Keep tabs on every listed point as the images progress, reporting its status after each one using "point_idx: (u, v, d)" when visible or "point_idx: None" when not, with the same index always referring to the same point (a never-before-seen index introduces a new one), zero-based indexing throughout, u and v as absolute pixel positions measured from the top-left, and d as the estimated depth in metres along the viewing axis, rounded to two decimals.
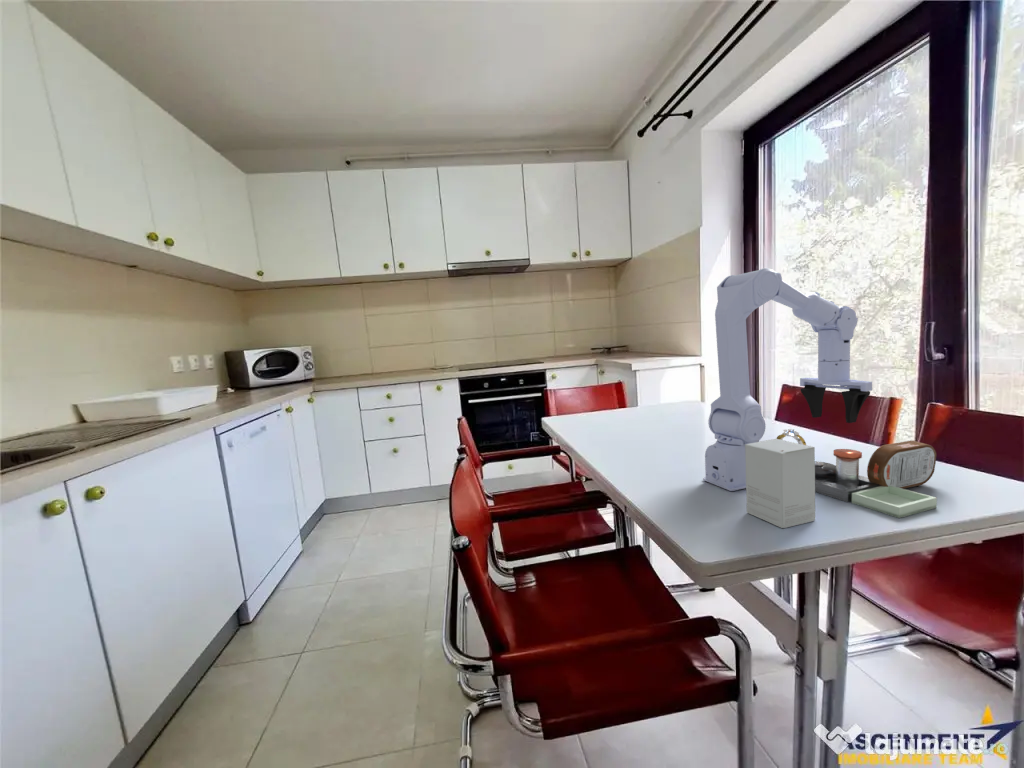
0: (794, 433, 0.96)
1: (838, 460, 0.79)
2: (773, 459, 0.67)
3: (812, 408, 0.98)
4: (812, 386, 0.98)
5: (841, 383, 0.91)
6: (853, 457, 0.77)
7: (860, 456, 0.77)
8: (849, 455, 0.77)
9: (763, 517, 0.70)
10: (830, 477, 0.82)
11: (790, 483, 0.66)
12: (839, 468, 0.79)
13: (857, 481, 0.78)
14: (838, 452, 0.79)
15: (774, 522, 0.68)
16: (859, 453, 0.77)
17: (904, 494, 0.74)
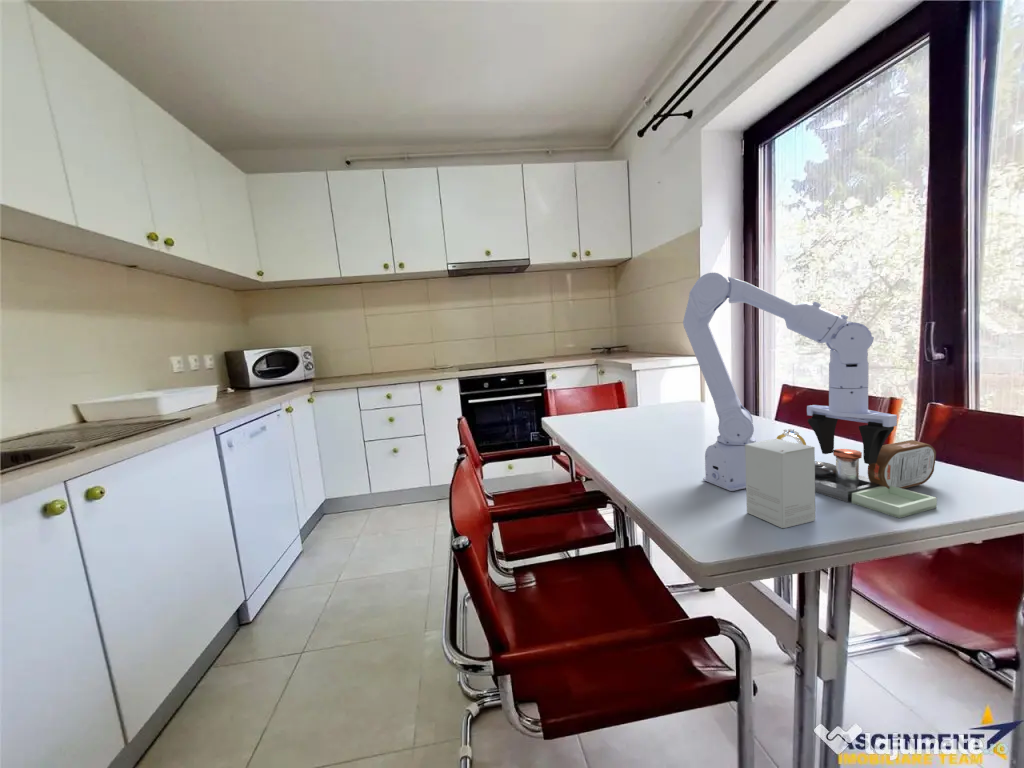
0: (794, 433, 0.96)
1: (838, 460, 0.79)
2: (773, 459, 0.67)
3: (822, 442, 0.82)
4: (822, 416, 0.82)
5: (858, 415, 0.74)
6: (853, 457, 0.77)
7: (860, 456, 0.77)
8: (849, 455, 0.77)
9: (763, 517, 0.70)
10: (830, 477, 0.82)
11: (790, 483, 0.66)
12: (839, 468, 0.79)
13: (857, 481, 0.78)
14: (838, 452, 0.79)
15: (774, 522, 0.68)
16: (859, 453, 0.77)
17: (904, 494, 0.74)
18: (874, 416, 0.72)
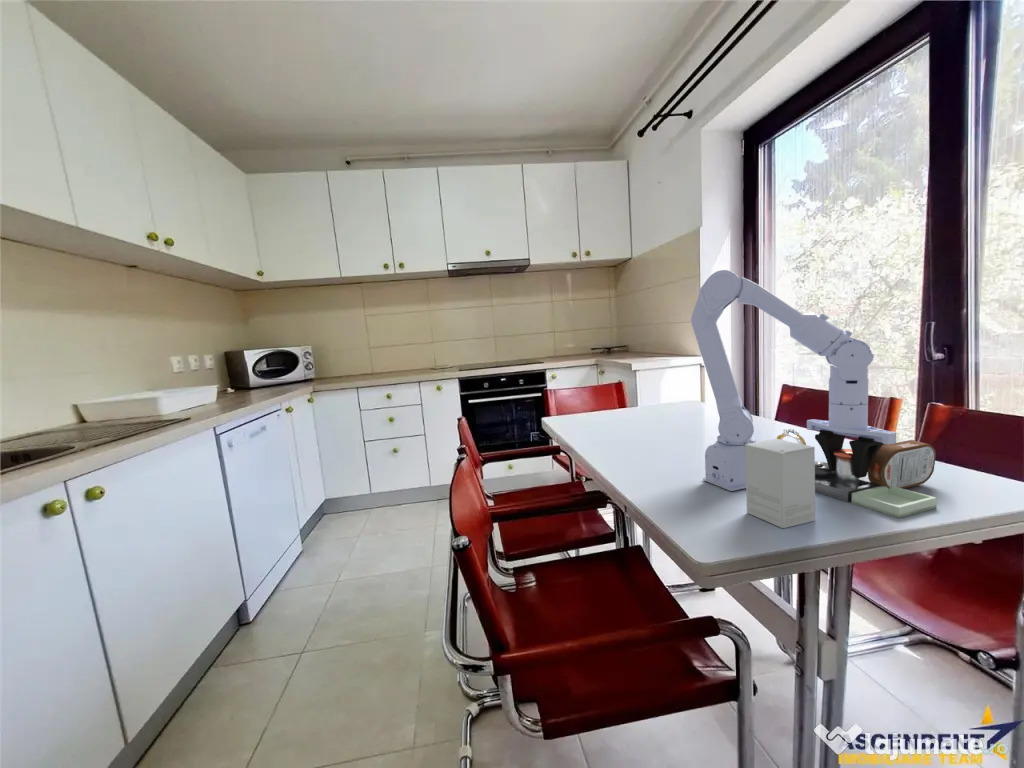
0: (794, 433, 0.96)
1: (838, 460, 0.79)
2: (773, 459, 0.67)
3: (829, 459, 0.81)
4: (821, 431, 0.82)
5: (858, 432, 0.75)
6: None
7: None
8: (849, 455, 0.77)
9: (763, 517, 0.70)
10: (830, 477, 0.82)
11: (790, 483, 0.66)
12: (839, 468, 0.79)
13: (857, 481, 0.78)
14: (838, 452, 0.79)
15: (774, 522, 0.68)
16: None
17: (904, 494, 0.74)
18: (874, 433, 0.73)
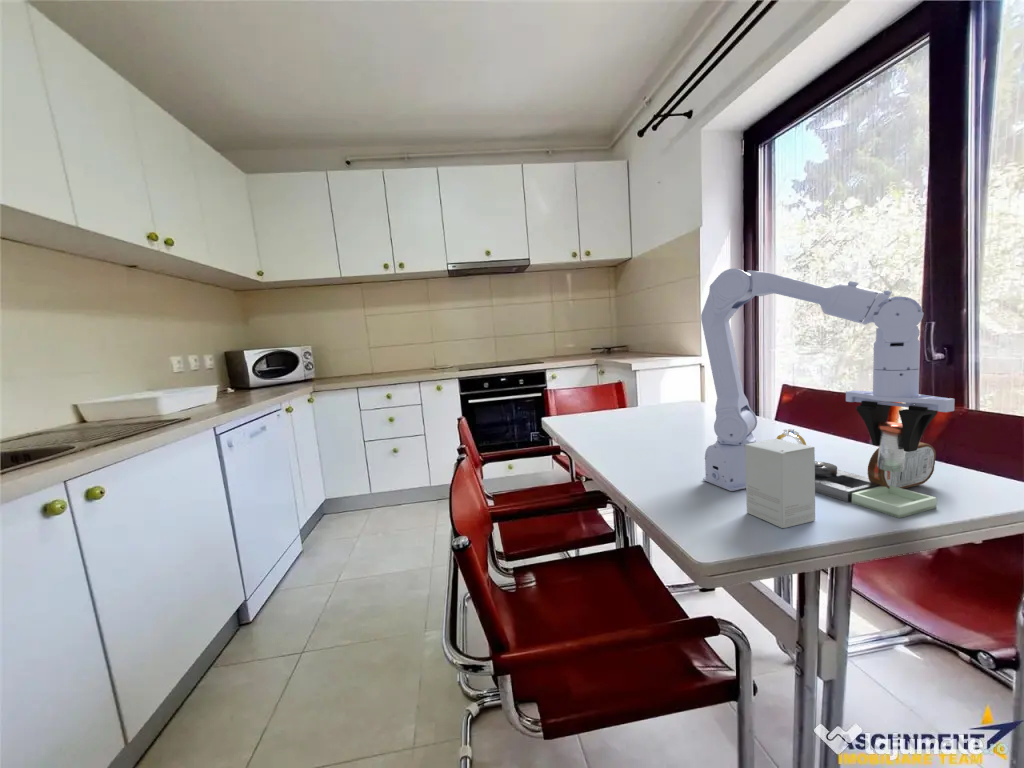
0: (794, 433, 0.96)
1: (883, 435, 0.71)
2: (773, 459, 0.67)
3: (873, 433, 0.73)
4: (864, 402, 0.74)
5: (909, 400, 0.67)
6: (902, 431, 0.69)
7: None
8: (897, 429, 0.69)
9: (763, 517, 0.70)
10: (830, 477, 0.82)
11: (790, 483, 0.66)
12: (884, 443, 0.71)
13: (903, 457, 0.70)
14: (884, 425, 0.71)
15: (774, 522, 0.68)
16: None
17: (904, 494, 0.74)
18: (928, 400, 0.65)
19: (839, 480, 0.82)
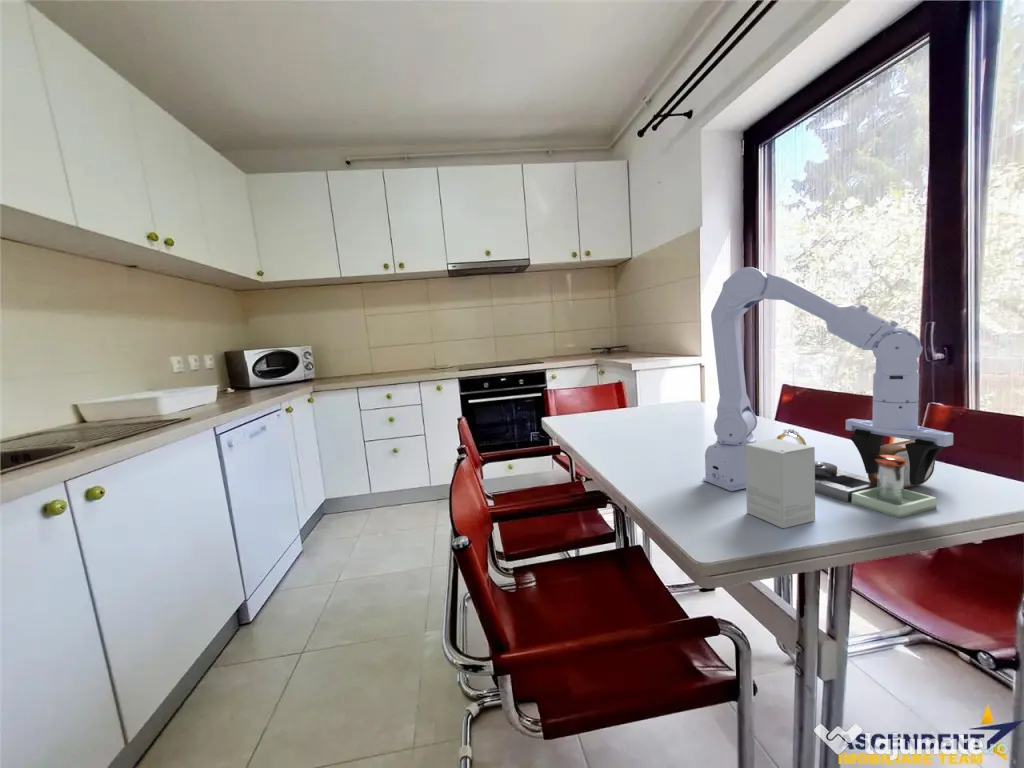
0: (794, 433, 0.96)
1: (880, 468, 0.72)
2: (773, 459, 0.67)
3: (866, 461, 0.74)
4: (863, 432, 0.75)
5: (908, 433, 0.67)
6: (898, 464, 0.70)
7: (905, 463, 0.70)
8: (893, 462, 0.70)
9: (763, 517, 0.70)
10: (830, 477, 0.82)
11: (790, 483, 0.66)
12: (881, 476, 0.72)
13: (902, 490, 0.71)
14: (880, 458, 0.72)
15: (774, 522, 0.68)
16: (904, 460, 0.71)
17: (904, 494, 0.74)
18: (927, 434, 0.66)
19: (839, 480, 0.82)
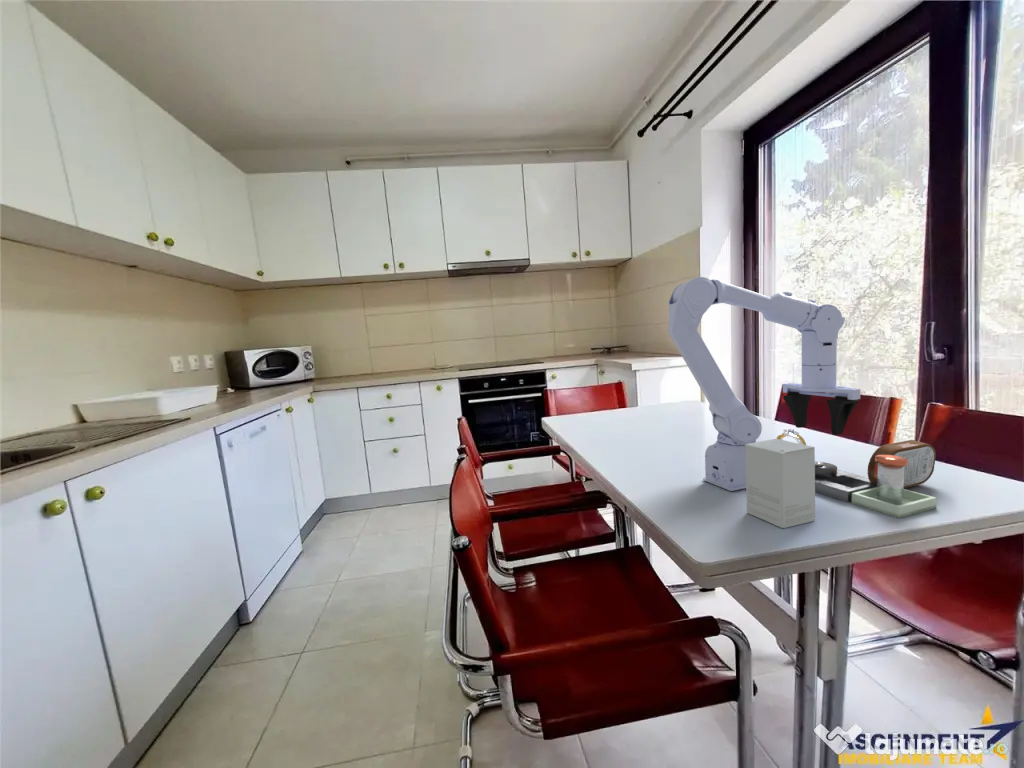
0: (794, 433, 0.96)
1: (880, 467, 0.72)
2: (773, 459, 0.67)
3: (795, 417, 0.89)
4: (796, 393, 0.89)
5: (826, 390, 0.81)
6: (898, 464, 0.70)
7: (906, 463, 0.70)
8: (894, 462, 0.70)
9: (763, 517, 0.70)
10: (830, 477, 0.82)
11: (790, 483, 0.66)
12: (882, 476, 0.72)
13: (902, 490, 0.71)
14: (881, 458, 0.72)
15: (774, 522, 0.68)
16: (905, 460, 0.70)
17: (904, 494, 0.74)
18: (840, 390, 0.79)
19: (839, 480, 0.82)
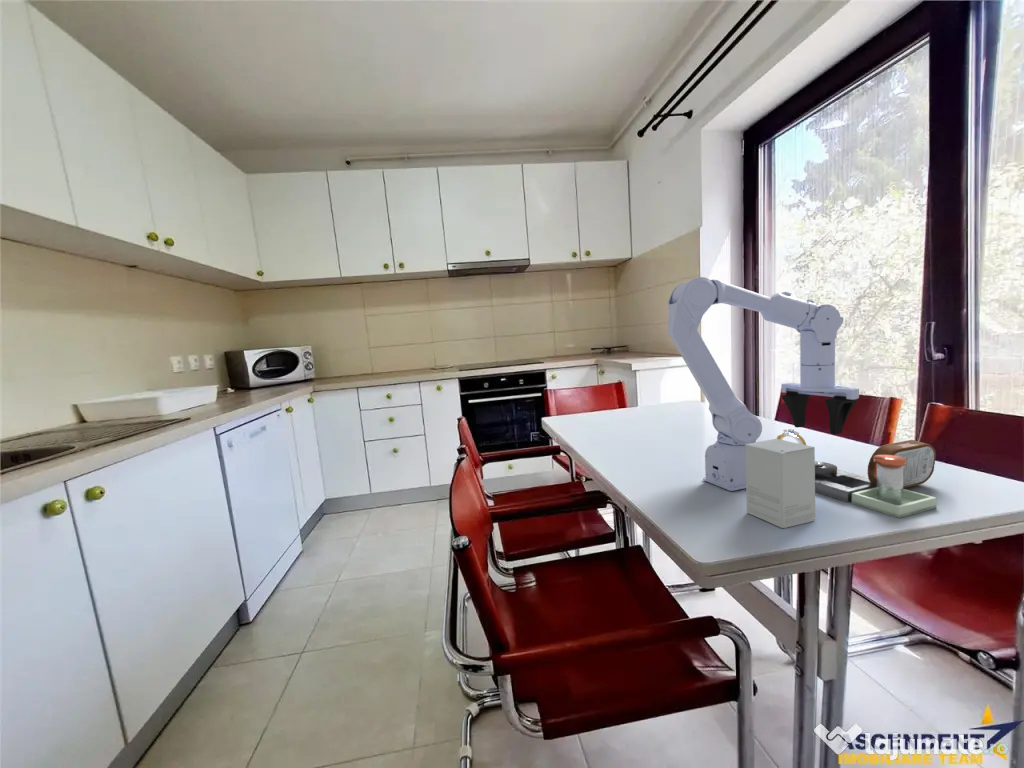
0: (794, 433, 0.96)
1: (879, 468, 0.72)
2: (773, 459, 0.67)
3: (794, 417, 0.89)
4: (794, 393, 0.89)
5: (825, 390, 0.81)
6: (897, 464, 0.70)
7: (905, 463, 0.70)
8: (893, 462, 0.70)
9: (763, 517, 0.70)
10: (830, 477, 0.82)
11: (790, 483, 0.66)
12: (881, 476, 0.72)
13: (901, 490, 0.71)
14: (879, 458, 0.72)
15: (774, 522, 0.68)
16: (903, 459, 0.71)
17: (904, 494, 0.74)
18: (839, 390, 0.80)
19: (839, 480, 0.82)
